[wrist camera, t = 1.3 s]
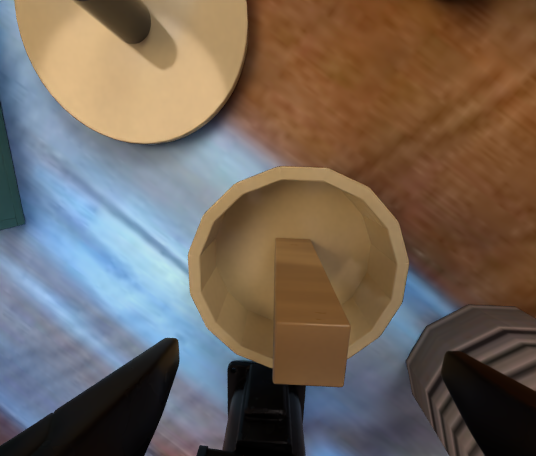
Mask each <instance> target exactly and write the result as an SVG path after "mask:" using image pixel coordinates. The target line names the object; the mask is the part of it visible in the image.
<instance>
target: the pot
mask: <svg viewBox="0 0 536 456" xmlns="http://www.w3.org/2000/svg"><path fill="white" fill-rule="evenodd" d="M276 238H293V239H310V240H311V242H312V244H313V246H314V249H315V251H316V253H317V255H318V257H319V259H320V261H321V263H322V266H323V268H324V270H325V272H326V274H327V276H328V278H329V280H330V283H331V285H332V287H333V289H334V291H335V293H336V295H337V297H338V300H339V302H340V304H341V306H342V308H343V310H344V312H345V315H346V317H347V319H348V321H349V323H350V325H351V331H350V339H349V346H348V354H347V359H349V358H350V357H352V356H353V355H355V354H356V353H357V352H359V351H360V350H362V349H363V348H364V347H366V346H367V345H369V344H370V343H371V342H373V341H374V340H376V339H377V338H378V337H380V335H381V334H382V333H383V331H384V330H385V328H386V327H387V325H388V324H389V322H390V321H391V319H392V318H393V316H394V315H395V313H396V312H397V310H398V308H399V307H400V305H401V304H402V302H403V296H404V290H405V285H406V279H407V274H408V268H409V259H408V256H407V252H406V248H405V244H404V240H403V237H402V233H401V229H400V225H399V223H398V220H397V219H396V218H395V217H394V216H393V215H392V213H391V212H390V211H389V210H388V209H387V207H386V206H385V205H384V204H383V203H382V201H381V200H380V199H379V198H378V197H377V196H376V194H375V193H374V192H373V191H372V190H371V189H370V188H369V187H367V186H365V185H363V184H361V183H359V182H357V181H355V180H353V179H351V178H348V177H346V176H344V175H342V174H340V173H338V172H336V171H334V170H331V169H329V168H323V167H293V166H279V167H275V168H272V169H270V170H267V171H264V172H262V173H259V174H257V175H254V176H251V177H249V178H246V179H244V180H242V181H239V182H237V183H236V184H234V185H233V186H232V187H231V188H230V189H229V190H228V191H227V192H226V193H225V194H224V195H223V196H222V197H221V198H220V199H219V200H218V201H217V202H216V203H215V204H214V205H213V206H212V207H211V208H209V209H208V210H207V211H206V212H205V213H204V215H203V217H202V219H201V222H200V224H199V227H198V229H197V232H196V234H195V237H194V239H193V242H192V245H191V247H190V250H189V252H188V265H189V285H190V294H191V297H192V299H193V301H194V303H195V305H196V307H197V309H198V311H199V313H200V315H201V317H202V319H203V321H204V323H205V325H206V327H207V328H208V329H209V330H210V331H211V332H212V333H213V334H214V335H215V336H216V337H217V338H219V339H220V340H221V341H222V342H223V343H224V344H225V345H226V346H227V347H229V348H230V349H231V350H232V351H233V352H234V353H236V354H237V355H240V356H242V357H245V358H247V359H250V360H252V361H255V362H257V363H260V364H262V365H265V366H267V367H270V368H273V314H274V260H275V239H276Z"/></svg>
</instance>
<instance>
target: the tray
mask: <svg viewBox="0 0 536 456" xmlns="http://www.w3.org/2000/svg"><path fill="white" fill-rule="evenodd" d="M23 224H25V220H24V215H23V210H22V206H21V201H20V196H19V191H18V187H17V182H16V177H15V172H14V167H13V163H12V158H11V153H10V148H9V143H8V139H7V134H6V129H5V124H4V119H3V115H2V110H1V105H0V230H2V229H6V228H11V227H15V226H19V225H23Z"/></svg>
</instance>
